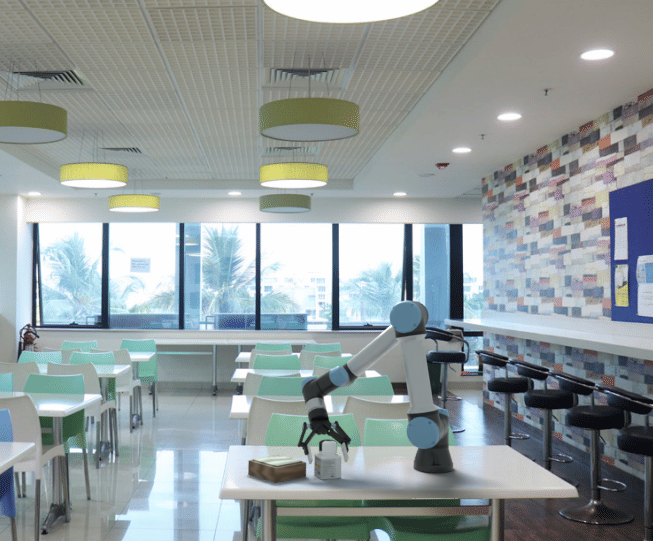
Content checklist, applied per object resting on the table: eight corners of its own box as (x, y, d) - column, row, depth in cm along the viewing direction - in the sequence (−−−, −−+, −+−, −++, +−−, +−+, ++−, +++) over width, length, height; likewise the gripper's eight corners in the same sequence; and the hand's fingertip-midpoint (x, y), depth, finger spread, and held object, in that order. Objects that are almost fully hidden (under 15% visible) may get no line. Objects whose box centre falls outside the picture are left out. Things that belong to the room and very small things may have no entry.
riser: (306, 476, 248) (306, 461, 248) (276, 482, 238) (276, 466, 239) (278, 468, 259) (278, 453, 260) (248, 474, 250) (248, 459, 250)
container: (313, 474, 251) (314, 438, 251) (333, 473, 253) (334, 437, 254) (321, 479, 243) (321, 442, 244) (341, 478, 246) (341, 441, 247)
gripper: (345, 417, 268) (358, 464, 253) (283, 420, 260) (293, 468, 245) (350, 405, 264) (364, 453, 248) (287, 407, 256) (297, 457, 241)
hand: (329, 461), depth 247 cm, fingers open, 13 cm apart
